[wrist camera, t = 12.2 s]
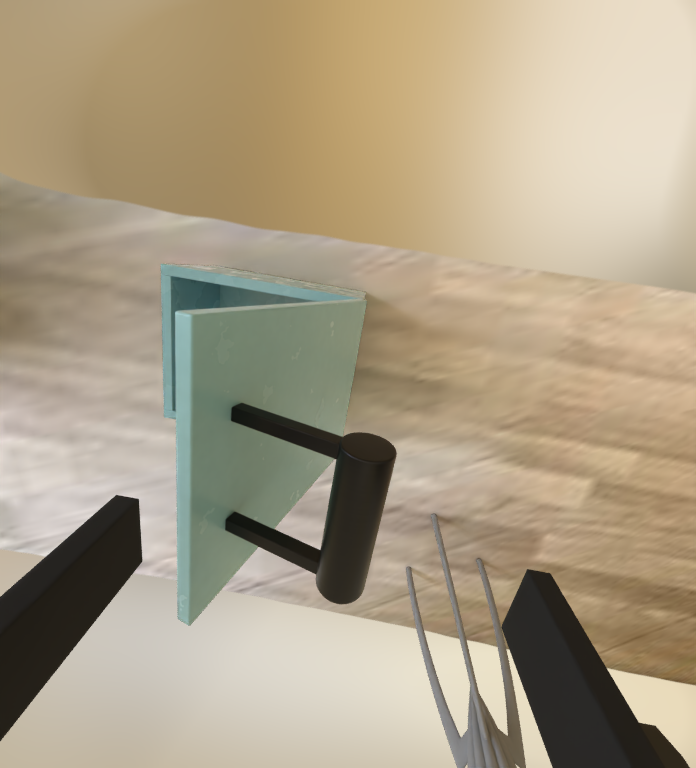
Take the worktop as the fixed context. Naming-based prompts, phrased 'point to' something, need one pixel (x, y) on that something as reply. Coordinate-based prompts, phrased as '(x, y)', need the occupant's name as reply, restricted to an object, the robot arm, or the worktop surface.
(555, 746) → the robot arm
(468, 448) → the worktop surface
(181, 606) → the cabinet door
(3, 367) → the worktop surface
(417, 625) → the citrus juicer
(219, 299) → the teal box
